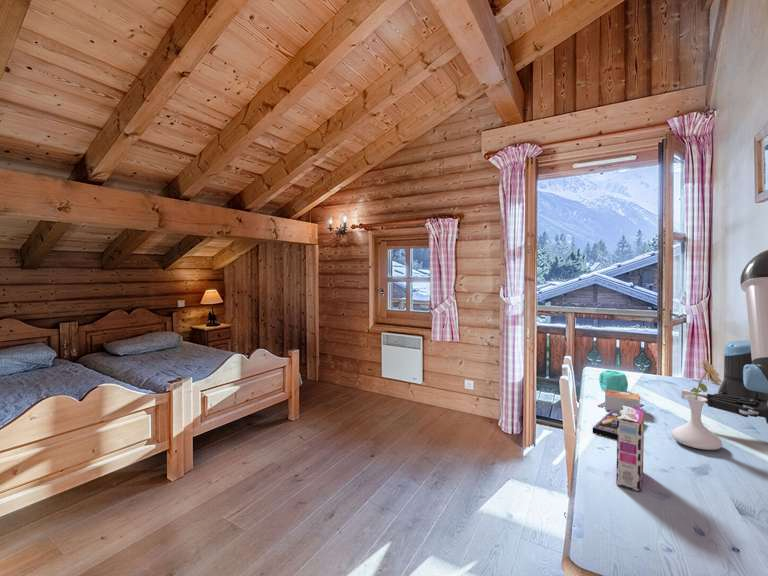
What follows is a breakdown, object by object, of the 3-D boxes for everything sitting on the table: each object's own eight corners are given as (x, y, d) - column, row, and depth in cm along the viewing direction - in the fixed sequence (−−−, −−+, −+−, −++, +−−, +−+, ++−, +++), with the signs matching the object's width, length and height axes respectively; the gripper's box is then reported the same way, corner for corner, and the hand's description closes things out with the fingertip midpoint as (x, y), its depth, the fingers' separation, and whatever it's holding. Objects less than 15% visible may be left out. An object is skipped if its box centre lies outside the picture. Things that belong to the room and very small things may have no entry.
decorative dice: (606, 394, 148) (606, 375, 148) (598, 388, 156) (598, 370, 156) (628, 394, 147) (628, 375, 147) (618, 388, 155) (618, 370, 155)
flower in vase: (703, 456, 97) (704, 366, 96) (661, 438, 108) (661, 357, 107) (737, 449, 100) (737, 362, 100) (692, 432, 111) (693, 353, 111)
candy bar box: (641, 493, 82) (641, 423, 81) (615, 485, 85) (615, 418, 84) (644, 471, 90) (644, 408, 90) (621, 465, 94) (621, 404, 93)
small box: (640, 400, 124) (604, 395, 130) (640, 415, 125) (604, 410, 130) (638, 393, 131) (605, 389, 137) (638, 408, 131) (605, 403, 137)
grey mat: (614, 398, 143) (614, 397, 143) (643, 405, 135) (643, 404, 135) (597, 406, 135) (597, 405, 135) (627, 414, 127) (627, 413, 127)
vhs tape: (592, 427, 113) (610, 410, 126) (592, 434, 113) (610, 417, 126) (628, 437, 106) (643, 418, 119) (628, 444, 106) (643, 425, 119)
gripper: (783, 434, 96) (675, 409, 116) (792, 422, 103) (689, 400, 123) (783, 407, 96) (675, 386, 115) (792, 397, 103) (689, 379, 123)
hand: (682, 393), depth 119 cm, fingers closed
